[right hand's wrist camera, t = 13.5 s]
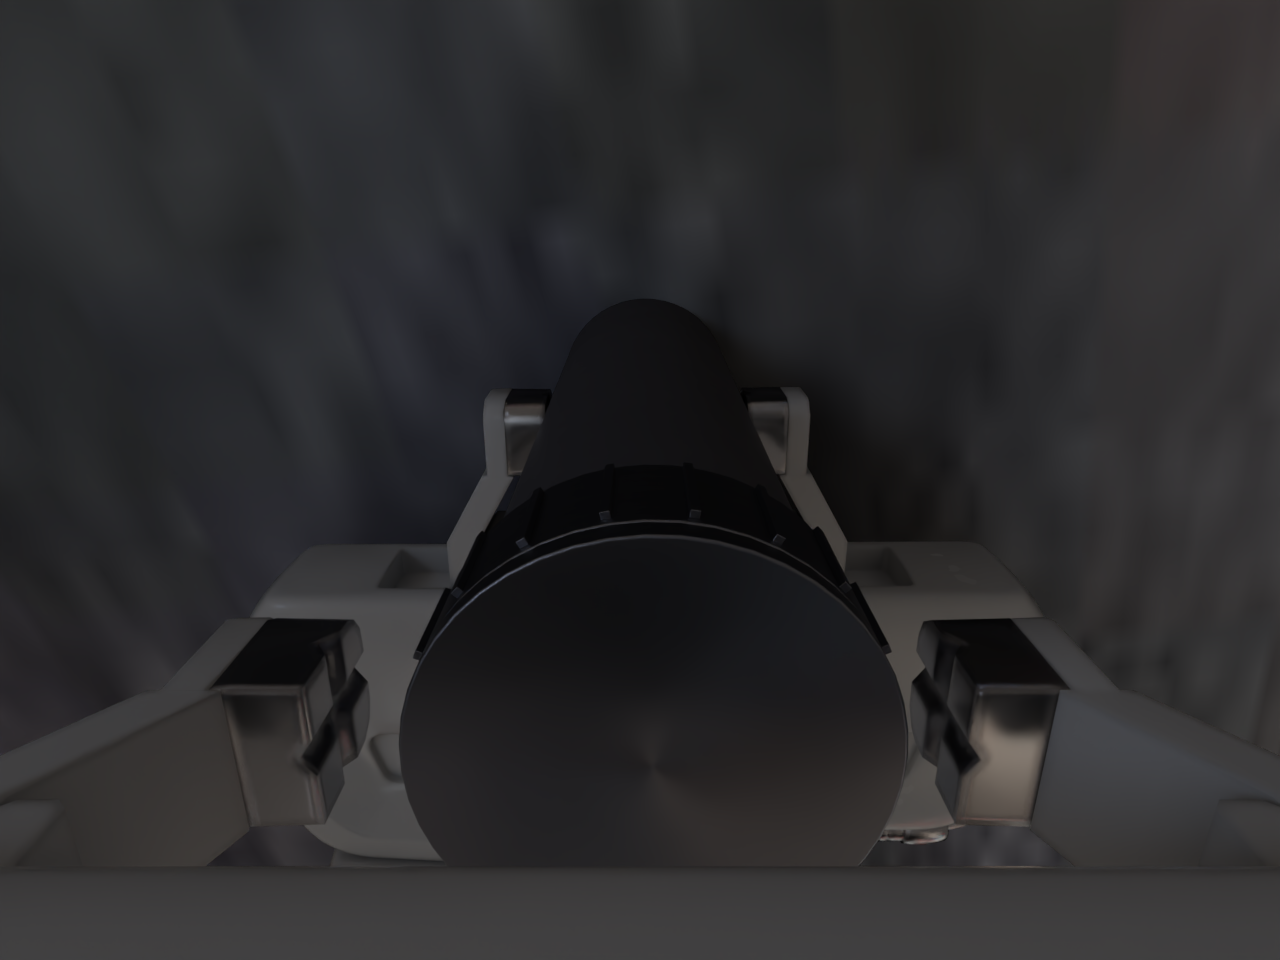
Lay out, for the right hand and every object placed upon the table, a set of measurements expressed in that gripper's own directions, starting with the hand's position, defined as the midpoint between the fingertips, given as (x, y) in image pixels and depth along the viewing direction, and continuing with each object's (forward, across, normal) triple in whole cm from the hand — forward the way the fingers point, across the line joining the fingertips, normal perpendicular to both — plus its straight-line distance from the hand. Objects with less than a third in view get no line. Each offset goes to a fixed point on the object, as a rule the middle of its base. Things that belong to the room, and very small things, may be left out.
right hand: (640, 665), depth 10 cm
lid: (-2, 0, 0) cm, 2 cm away
